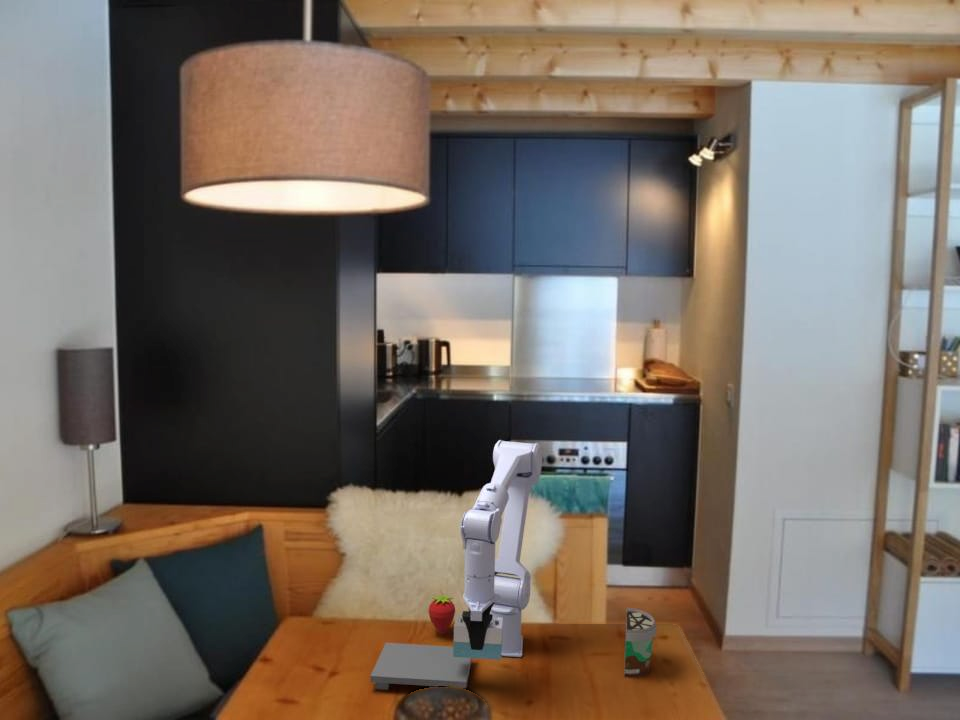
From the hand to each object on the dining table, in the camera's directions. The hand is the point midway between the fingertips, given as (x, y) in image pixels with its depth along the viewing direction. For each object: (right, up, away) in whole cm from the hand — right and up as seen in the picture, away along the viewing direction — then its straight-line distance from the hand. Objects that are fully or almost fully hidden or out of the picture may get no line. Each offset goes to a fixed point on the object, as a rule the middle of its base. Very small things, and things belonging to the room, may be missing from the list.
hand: (478, 642), depth 141 cm
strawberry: (-8, -7, +22) cm, 25 cm away
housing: (0, -2, 0) cm, 2 cm away
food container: (+33, -9, +9) cm, 35 cm away
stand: (-11, -8, +3) cm, 14 cm away
